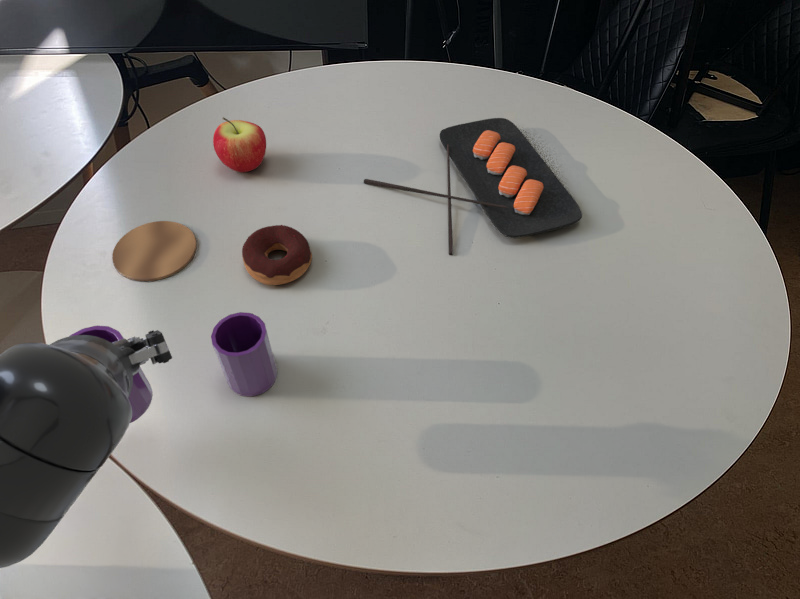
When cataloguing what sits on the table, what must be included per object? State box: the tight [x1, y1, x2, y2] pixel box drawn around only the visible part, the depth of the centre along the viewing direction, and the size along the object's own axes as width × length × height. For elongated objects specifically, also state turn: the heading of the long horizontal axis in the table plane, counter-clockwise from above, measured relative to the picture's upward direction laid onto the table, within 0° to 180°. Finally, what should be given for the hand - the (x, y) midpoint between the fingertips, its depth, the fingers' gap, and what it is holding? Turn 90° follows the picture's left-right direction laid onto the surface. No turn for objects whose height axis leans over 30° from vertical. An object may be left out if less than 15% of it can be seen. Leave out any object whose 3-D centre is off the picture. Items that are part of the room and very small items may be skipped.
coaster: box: [111, 220, 198, 282], centre depth 89 cm, size 12×12×1 cm
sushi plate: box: [363, 117, 583, 256], centre depth 98 cm, size 29×30×4 cm
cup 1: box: [69, 325, 154, 424], centre depth 60 cm, size 6×6×9 cm
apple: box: [212, 116, 267, 173], centre depth 98 cm, size 8×8×10 cm
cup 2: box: [210, 311, 278, 397], centre depth 73 cm, size 6×6×9 cm
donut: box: [241, 224, 313, 286], centre depth 87 cm, size 10×10×4 cm
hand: (100, 360), depth 60 cm, fingers closed on cup 1, 6 cm apart
